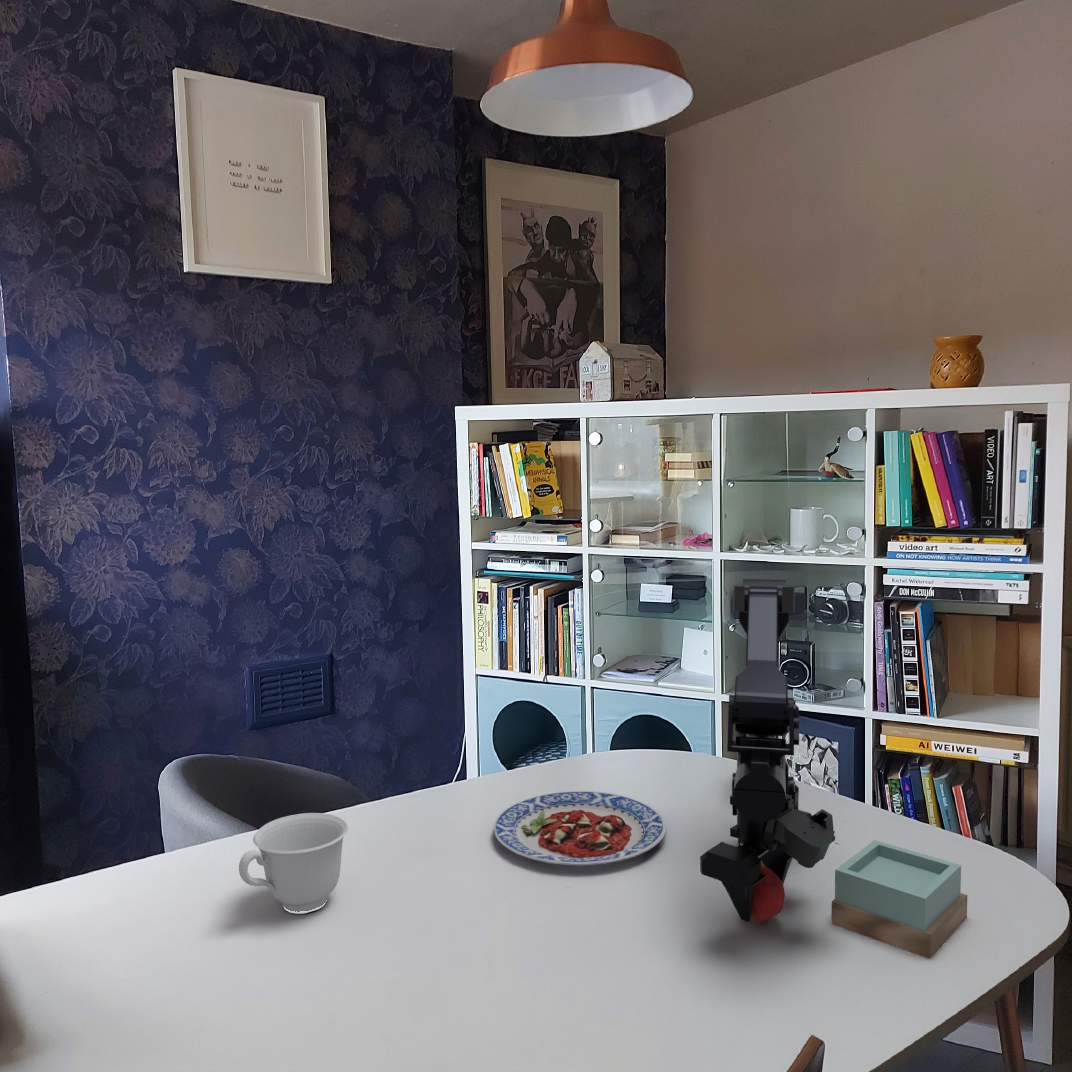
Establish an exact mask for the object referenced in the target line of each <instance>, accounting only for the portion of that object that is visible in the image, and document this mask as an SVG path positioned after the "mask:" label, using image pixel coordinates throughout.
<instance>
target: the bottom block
mask: <svg viewBox="0 0 1072 1072" xmlns="http://www.w3.org/2000/svg"><path fill="white" fill-rule="evenodd" d="M966 919H968V894H965V893H963V892H962V893H960V897H959V898H958V899H957V900H956V901H955V902H954V903H953V904H952V905H951V906H950V907H949V908H948V909H947V910H946V911H945V912H944V913H943V914H942V915H941V916H940V917H939V918H938V919H937V920H936V921H935V922H934V923H933V924H932V925H931V926H930V927H929V928H928V929H927V930H926V931H925V932H924V931H921V930H918V929H915V928H912V927H909V926H906V925H904V924H901V923H898V922H895V921H892V920H889V919H886V918H883V917H880V916H878V915H875V914H872V913H869V912H866V911H863V910H860V909H857V908H855V907H852V906H849V905H846V904H843V903H840V902H837V901H835V898H834V899H833V900H832V901H831V920H830V921H831V923H830V924H831V925H834V926H837V927H840V928H842V929H844V930H848V931H851V932H854V933H856V934H860V935H862V936H864V937H867V938H870V939H873V940H877V941H879V942H882V943H884V944H887V945H890V946H893V947H896V948H899V949H901V950H904V951H907V952H910V953H912V954H915V955H918V956H921V957H924V958H925V959H926V958H927V959H930V960H931V959H932V958H933V957H934V956H935V954H936V953H938V951H939V950H940V949H941V947H942V946H943V945H944V944H945V943H946V942H947V941H948V940H949V938H951V936H952V935H953V934H954V933H955V931H957V929H958V928H959V927H960V926H961V925H962V924H963V923H964V921H965V920H966Z"/></svg>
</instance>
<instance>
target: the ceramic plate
mask: <svg viewBox="0 0 1072 1072" xmlns="http://www.w3.org/2000/svg"><path fill="white" fill-rule="evenodd" d="M493 832H494V836H495V838H496V839H497V841H498V842H499V843H500V844H501V845H502V846H503V847H505V848H506V849H508V850H509V851H511V852H512V853H514V854H516V855H519V856H521V857H525V858H526V859H529V860H533V861H538V862H542V863H547V864H555V865H563V866H564V865H565V866H594V865H604V864H611V863H617V862H622V861H625V860H628V859H631V858H634V857H637V856H640V855H642V854H644V853H647V852H648V851H650V850H652V849H653V848H654V847H656V846H657V845H658V844H660V842H661V841H662V839H663V838H664V836H665V834H666V832H667V824H666V820H665V818H664V817H663V815H661V813H659V812H658V811H657V810H656V809H655V808H654V807H652V806H651V805H648V803H645V802H643V801H640V800H639V799H635V798H632V797H629V796H625V795H622V794H621V795H620V794H616V793H610V792H603V791H589V790H573V791H572V790H571V791H559V792H551V793H545V794H540V795H535V796H532V797H528V798H526V799H523V800H521V801H519V802H516V803H514V804H512V805H510V806H509V807H507V808H506V809H504V810H503V811H501V813H499V815H498V816H497V818H496V819H495V821H494V824H493Z"/></svg>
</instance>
